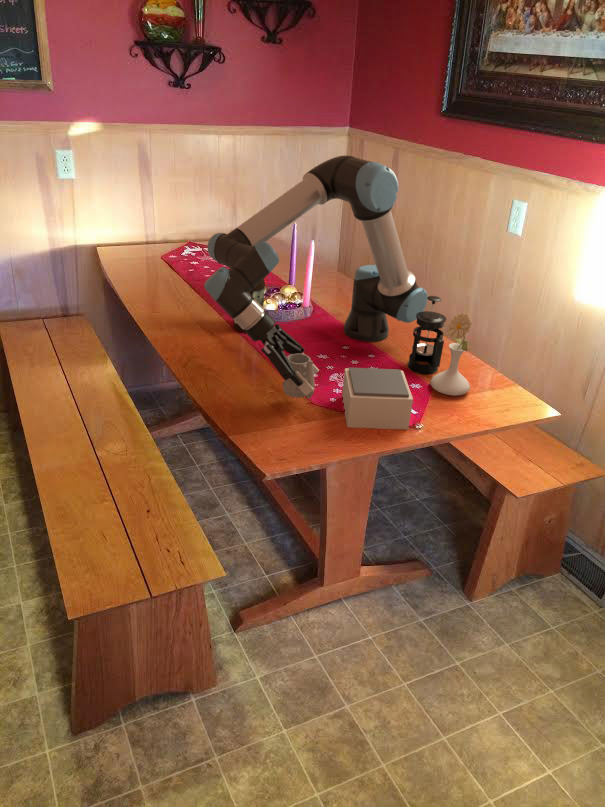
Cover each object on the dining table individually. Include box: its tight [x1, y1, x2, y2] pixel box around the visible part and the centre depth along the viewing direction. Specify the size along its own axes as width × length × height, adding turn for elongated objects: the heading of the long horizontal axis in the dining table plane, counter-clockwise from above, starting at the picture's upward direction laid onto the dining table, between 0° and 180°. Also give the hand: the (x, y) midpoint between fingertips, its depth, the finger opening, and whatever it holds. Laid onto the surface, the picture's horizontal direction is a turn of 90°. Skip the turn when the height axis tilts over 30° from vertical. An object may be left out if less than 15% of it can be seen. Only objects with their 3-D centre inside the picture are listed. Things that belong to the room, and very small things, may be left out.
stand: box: [341, 366, 414, 430], centre depth 178 cm, size 16×16×10 cm
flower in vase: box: [429, 312, 472, 396], centre depth 188 cm, size 13×11×25 cm
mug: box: [281, 353, 316, 400], centre depth 174 cm, size 8×12×12 cm, turn 30°
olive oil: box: [232, 278, 266, 334], centre depth 218 cm, size 11×11×25 cm
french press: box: [407, 295, 447, 376], centre depth 200 cm, size 12×9×23 cm
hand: (312, 382), depth 175 cm, fingers closed on mug, 10 cm apart
